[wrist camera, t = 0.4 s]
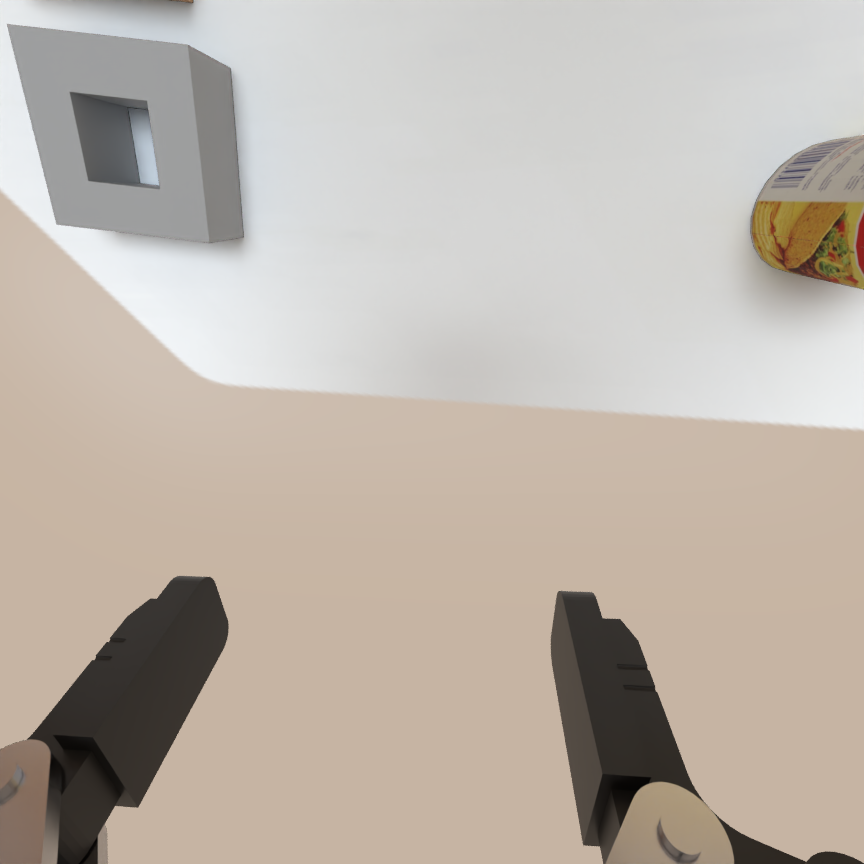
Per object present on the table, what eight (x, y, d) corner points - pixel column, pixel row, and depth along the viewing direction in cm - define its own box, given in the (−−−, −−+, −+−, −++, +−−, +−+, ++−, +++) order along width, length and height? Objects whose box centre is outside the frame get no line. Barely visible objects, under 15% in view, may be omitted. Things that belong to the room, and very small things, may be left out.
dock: (76, 50, 29) (6, 24, 25) (230, 68, 29) (187, 44, 25) (110, 220, 34) (56, 224, 30) (243, 236, 34) (209, 243, 29)
